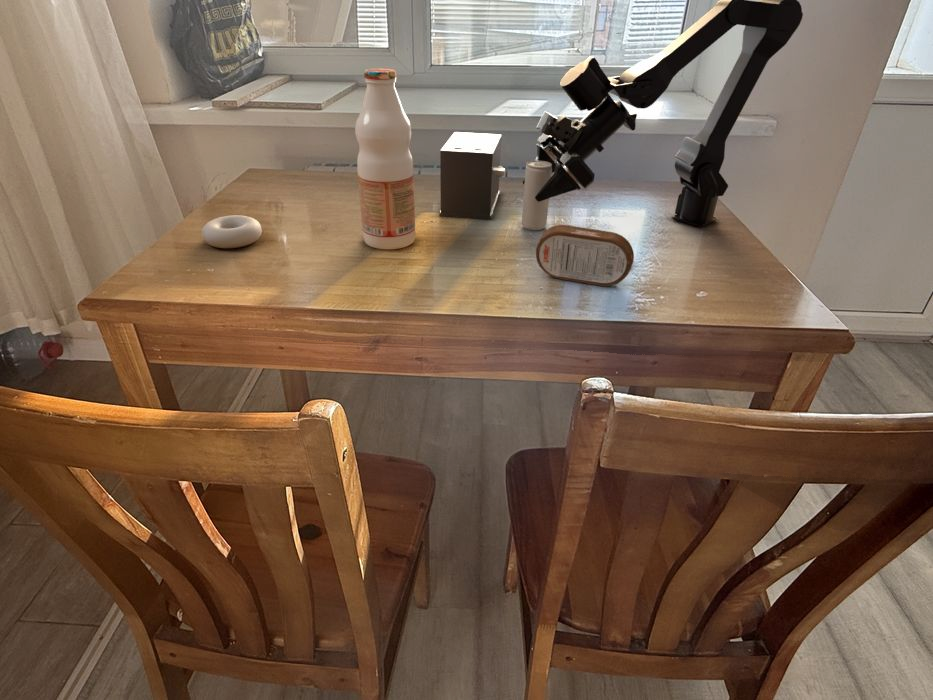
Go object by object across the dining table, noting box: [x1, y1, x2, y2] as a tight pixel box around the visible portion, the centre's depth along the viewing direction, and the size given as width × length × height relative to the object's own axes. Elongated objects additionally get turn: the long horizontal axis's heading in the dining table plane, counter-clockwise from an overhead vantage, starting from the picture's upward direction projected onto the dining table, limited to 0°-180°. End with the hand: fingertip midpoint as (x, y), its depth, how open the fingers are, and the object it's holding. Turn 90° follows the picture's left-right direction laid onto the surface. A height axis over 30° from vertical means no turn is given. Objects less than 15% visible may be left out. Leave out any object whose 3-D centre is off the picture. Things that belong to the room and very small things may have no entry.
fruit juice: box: [354, 67, 416, 250], centre depth 97 cm, size 9×9×28 cm
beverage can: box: [521, 160, 553, 231], centre depth 109 cm, size 5×5×12 cm
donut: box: [201, 214, 263, 249], centre depth 103 cm, size 10×4×10 cm
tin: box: [535, 224, 635, 287], centre depth 90 cm, size 15×3×8 cm, turn 71°
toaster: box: [438, 131, 506, 221], centre depth 119 cm, size 12×16×13 cm
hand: (530, 192), depth 108 cm, fingers open, 9 cm apart
